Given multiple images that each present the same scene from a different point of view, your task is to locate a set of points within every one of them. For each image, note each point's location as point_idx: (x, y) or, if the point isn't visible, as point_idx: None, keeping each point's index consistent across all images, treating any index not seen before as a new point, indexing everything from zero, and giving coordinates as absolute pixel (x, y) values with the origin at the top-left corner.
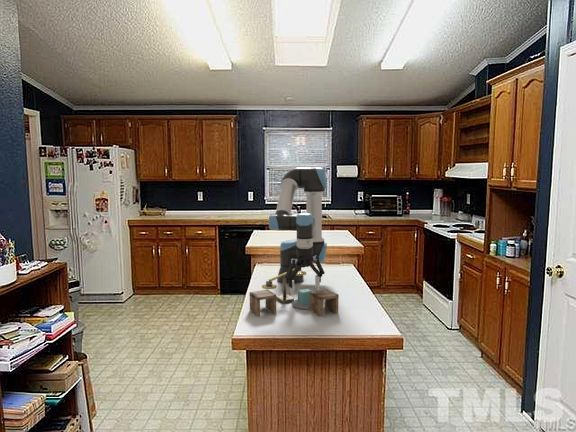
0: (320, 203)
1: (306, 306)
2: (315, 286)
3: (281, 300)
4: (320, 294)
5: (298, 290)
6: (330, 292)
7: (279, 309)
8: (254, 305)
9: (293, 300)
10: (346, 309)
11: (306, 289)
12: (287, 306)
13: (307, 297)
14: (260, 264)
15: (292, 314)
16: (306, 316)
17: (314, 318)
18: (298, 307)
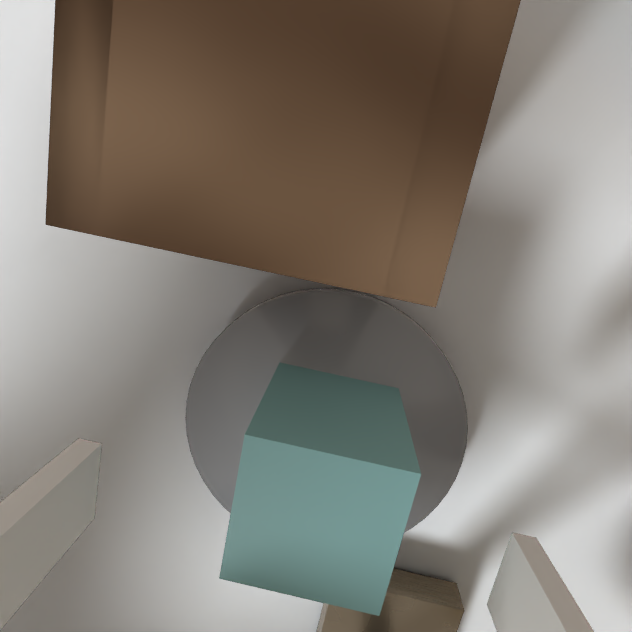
0: None
1: (397, 332)
2: (74, 536)
3: (452, 628)
4: (390, 37)
5: (386, 588)
6: (118, 4)
7: (594, 498)
8: None
9: None
10: (46, 31)
11: (263, 541)
12: (471, 508)
13: (336, 410)
14: None
15: (614, 309)
16: (554, 160)
17: (538, 45)
18: (458, 387)
